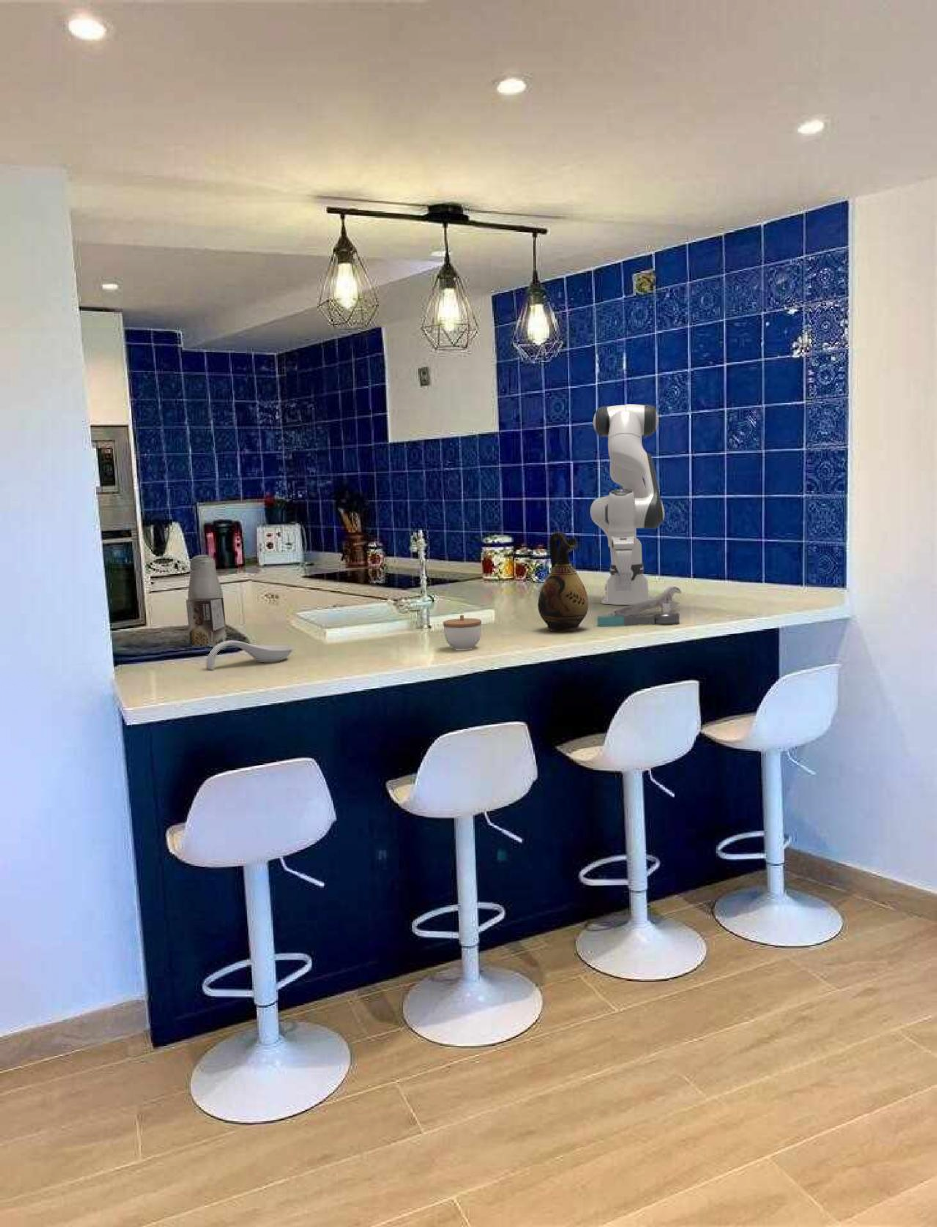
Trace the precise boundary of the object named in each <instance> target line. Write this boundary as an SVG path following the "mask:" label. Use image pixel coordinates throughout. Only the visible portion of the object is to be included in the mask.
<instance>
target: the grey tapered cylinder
mask: <svg viewBox="0 0 937 1227" xmlns="http://www.w3.org/2000/svg"><path fill="white" fill-rule="evenodd" d="M189 570H190V571H189V572H190V573H189V583H188V592H187V598H188V599H187V601H189V600H192V599H196V598H223V599H224V593H223V589H222V586H221V583H220V580H219V578H218V577H219V576H218V573H217V570H216V562H215V560H214V559H213V557H212V556H211V555H208V554H197V555H194V556H193V557H192V558H191V560H190V564H189Z"/></svg>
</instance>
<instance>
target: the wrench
mask: <svg viewBox="0 0 937 1227" xmlns="http://www.w3.org/2000/svg"><path fill="white" fill-rule="evenodd" d="M675 594H682V591H681V589H680V588H679V587H677V586H668V587H667V588H666V589H665V590H664V591H663V592H662V593H660V594H659V595H658V596H656V597H655V598H653V599H652V600H648V601H644V602H640V603H637V604H630V605H625V606H621V607H618V608H615V609H612V610H610V611H608V613H607V616H609V615H613V613H614V615H623V616H633V615H636V614H638V613H642V612H645V611H648V610H652V609H654V608H661V609H662V604H670V610H672V609H674V608H676V607H678V606H679V604H680V603H679V601H674V600H673V596H674V595H675Z"/></svg>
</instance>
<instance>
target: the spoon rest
mask: <svg viewBox="0 0 937 1227" xmlns="http://www.w3.org/2000/svg"><path fill="white" fill-rule="evenodd" d="M227 646H228V647H232V646H233V647H237V648H239V649H241V650H243V651H245V652H246V653H247V654H248V655H249V656H250V657H252V658H253V659H254V660H256V661H258V663H260V662H272V663H277V662H282V661H283V660H285V659H286V658H288V657H289V655H291V653H292V652H293V650H294V647H291V646H287V645H266V644H265V645H264V644H263V645H261V644H251V643H247V642H244V641H238V640H227V641H224V642H221V643H219V644H218V645H216V646H215V647H214V648H213V649H212V650H211V651H210V653H209V654H207V658H206V662H205V663H206V664H205V668H206V669H208V670H211V671H214V670H215V663H216V662H215V660H216V657H217V655H218V654H217V653H218V652H219V651H220V650H221V649H223V648H225V647H227Z"/></svg>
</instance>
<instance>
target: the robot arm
mask: <svg viewBox="0 0 937 1227" xmlns="http://www.w3.org/2000/svg"><path fill="white" fill-rule="evenodd" d="M659 420H660V419H659V414H658V412H657V409H656V407H655V406H654V405H651V404H635V403H634V404H633V403H632V404H630V403H629V404H627V403H626V404H620V405H611V406H610V405H609V406H607V405H605V406H600V407H598V408H597V410H596V411H595V413H594V416H593V420H592V425H593V428H594V431H595V433H596V435H598V436H599V437H602V438H607V449H608V457H609V476H610V478H611V480H612V481H613V482H614V483H615V484H616V485H619V486H621V487H622V488H616V489H612V490H611V491H610V492H609V494H608V495H605V496H603V497H602V496H601V497H599V498H595V499H594V501H593V502H592V504H591V505H590V509H589V510H590V512H589V513H590V518H591V520H592V521H593V523H594V524H595V525H596V526H598V527H599V528H600V529H601V530H602V531H603V532H604V535H606V537H607V545H608V546H607V547H608V548H609V549H610V565H609V574H610V577H609V578H607V580H606V583H605V585H604V590H605V595H606V596H605V597H604V598H603V599H602V600H601V604H603V605H604V604H606V605H618V606H619V605H620V606H621V605H624V606H629V605H633V604H637V603H640V602H644V601H648V600H652V599H654V598H653V597H650V595H649V594H650V593H649V579H648V578H647V577H645V575H644V572H645V571H644V569H645V568H644V563H643V552H642V549H643V548H642V547H643V546H642V542H641V541H640V540H639V538H637V529H649V530H655V529H657V528H659V526H661V525H662V524H663V523H664V521H665V507H664V504H663V501H662V498H661V495H660V490H659V489H660V487H659V483H658V478H657V474H656V469H655V464H654V460H653V457H652V455H651V454H650V453H648V452H646V450H645V449H644V447H643V442H642V440H643V439H645V440H646V439H647V437H649V436H652V435H653V434H654V433H655V432H656V430H657V428H658V425H659ZM643 437H644V438H643ZM642 438H643V439H642ZM614 573H619V574H620V582H621V586H626V580H627V574H628V573H630V574H631V591H615V586H614Z"/></svg>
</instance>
